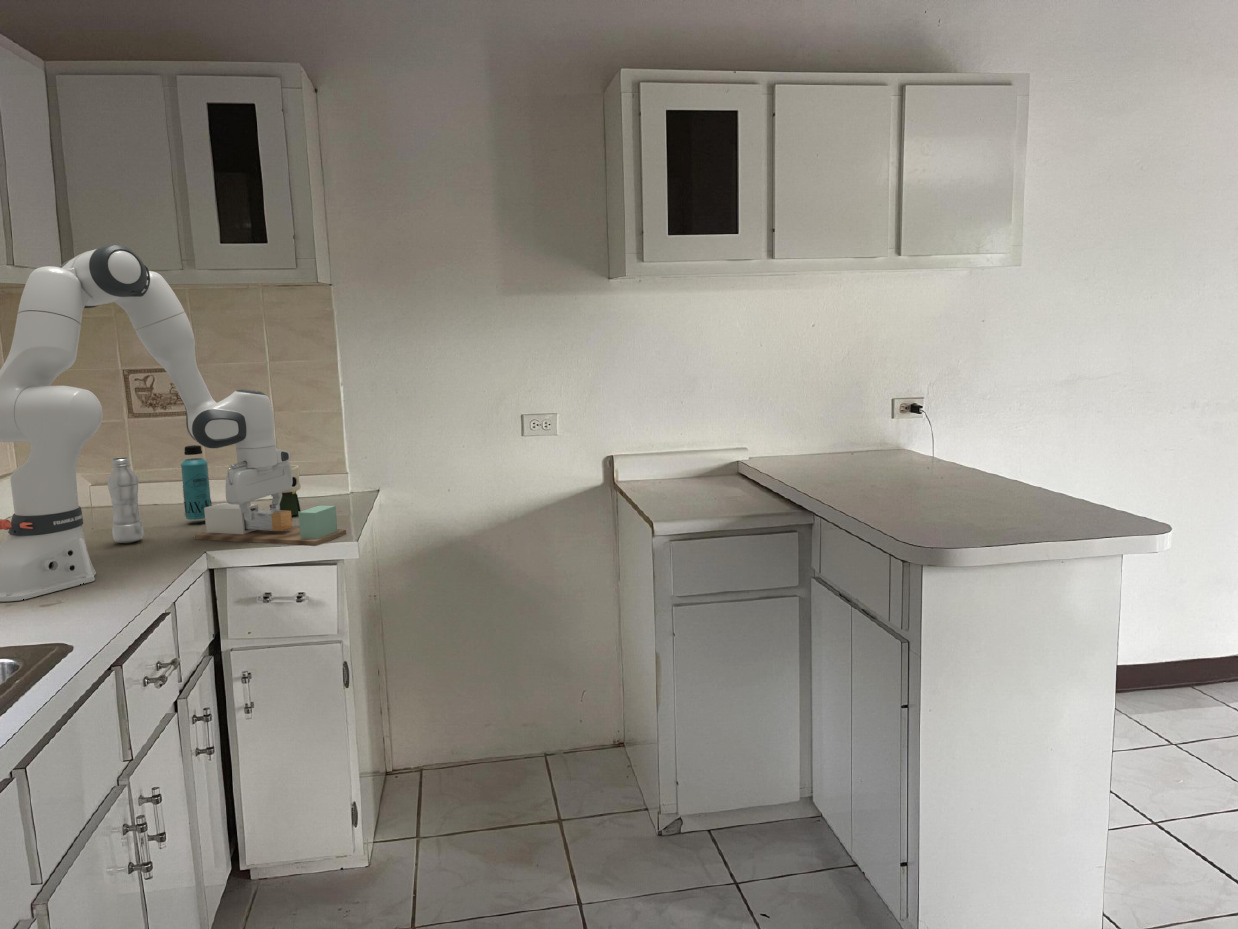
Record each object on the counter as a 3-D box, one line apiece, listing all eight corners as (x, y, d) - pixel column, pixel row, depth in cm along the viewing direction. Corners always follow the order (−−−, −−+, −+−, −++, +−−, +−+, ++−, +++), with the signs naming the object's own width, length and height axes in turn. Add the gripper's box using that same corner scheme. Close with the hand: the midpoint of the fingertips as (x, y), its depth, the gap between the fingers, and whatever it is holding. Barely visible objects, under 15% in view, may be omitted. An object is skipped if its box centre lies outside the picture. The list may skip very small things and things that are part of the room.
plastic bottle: (106, 545, 220) (97, 460, 217) (131, 538, 227) (122, 455, 223) (127, 546, 218) (117, 461, 215) (151, 540, 224) (142, 456, 221)
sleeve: (206, 532, 226) (204, 507, 225) (223, 526, 232) (221, 502, 231) (243, 534, 223) (241, 509, 222) (260, 528, 229) (257, 504, 228)
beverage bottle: (180, 524, 241) (172, 446, 238) (202, 519, 247) (194, 443, 244) (197, 526, 238) (189, 447, 235) (219, 521, 244) (212, 444, 241)
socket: (300, 538, 217) (298, 512, 216) (321, 530, 225) (319, 505, 224) (317, 539, 216) (315, 512, 215) (337, 531, 223) (335, 506, 222)
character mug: (291, 520, 243) (287, 470, 241) (265, 520, 244) (261, 470, 242) (310, 511, 253) (307, 463, 251) (285, 511, 254) (281, 463, 252)
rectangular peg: (212, 527, 227) (211, 511, 226) (224, 524, 230) (222, 507, 230) (281, 530, 221) (280, 514, 220) (292, 527, 225) (290, 510, 224)
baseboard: (194, 539, 224) (194, 535, 224) (229, 528, 235) (229, 524, 235) (316, 545, 214) (315, 541, 214) (346, 533, 225) (345, 529, 225)
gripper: (239, 465, 212) (244, 526, 214) (294, 451, 231) (299, 507, 233) (215, 465, 214) (221, 525, 216) (272, 451, 233) (277, 506, 235)
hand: (262, 515), depth 225 cm, fingers open, 8 cm apart
